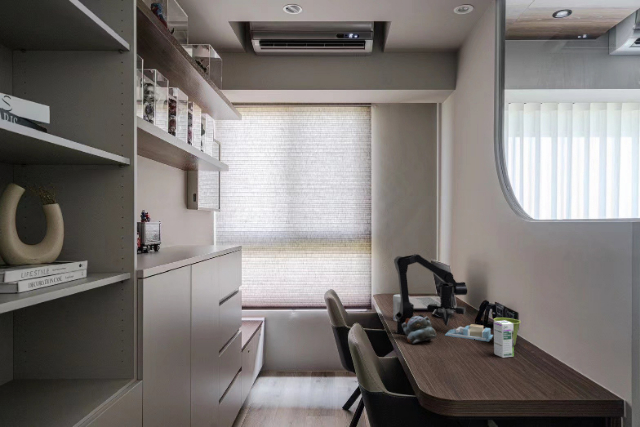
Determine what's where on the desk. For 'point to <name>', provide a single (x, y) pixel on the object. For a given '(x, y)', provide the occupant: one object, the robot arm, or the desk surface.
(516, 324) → the plant pot
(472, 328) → the beech block
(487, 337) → the vise base
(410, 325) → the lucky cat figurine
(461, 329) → the sliding jaw
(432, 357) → the desk surface
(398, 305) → the supplement tub
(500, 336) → the syrup box
